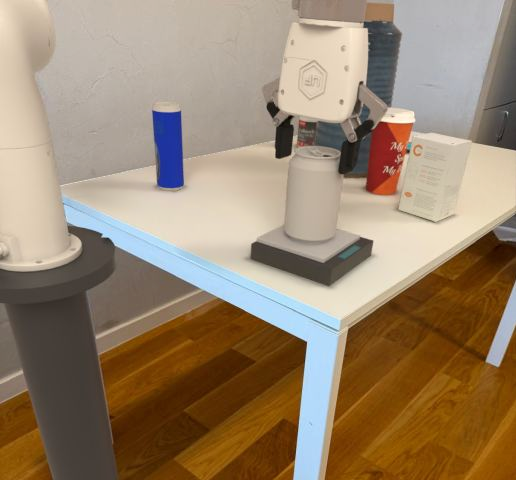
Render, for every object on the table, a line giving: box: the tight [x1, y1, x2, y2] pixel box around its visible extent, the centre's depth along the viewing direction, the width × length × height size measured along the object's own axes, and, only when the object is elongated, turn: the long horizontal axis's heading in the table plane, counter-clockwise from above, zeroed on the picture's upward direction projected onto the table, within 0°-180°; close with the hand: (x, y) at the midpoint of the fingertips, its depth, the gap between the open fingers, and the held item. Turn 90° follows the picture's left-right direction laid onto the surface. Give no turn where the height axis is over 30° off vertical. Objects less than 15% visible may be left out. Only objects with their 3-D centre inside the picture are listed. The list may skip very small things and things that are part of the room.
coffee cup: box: [365, 107, 416, 196], centre depth 99 cm, size 8×8×15 cm
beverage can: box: [151, 101, 185, 192], centre depth 94 cm, size 5×5×15 cm
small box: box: [398, 132, 473, 223], centre depth 89 cm, size 8×6×13 cm
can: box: [283, 146, 344, 244], centre depth 69 cm, size 8×8×12 cm
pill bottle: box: [296, 117, 317, 148], centre depth 128 cm, size 6×6×10 cm
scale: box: [250, 224, 374, 287], centre depth 73 cm, size 13×13×3 cm
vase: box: [314, 2, 403, 178], centre depth 107 cm, size 16×16×32 cm
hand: (313, 164), depth 67 cm, fingers open, 9 cm apart
